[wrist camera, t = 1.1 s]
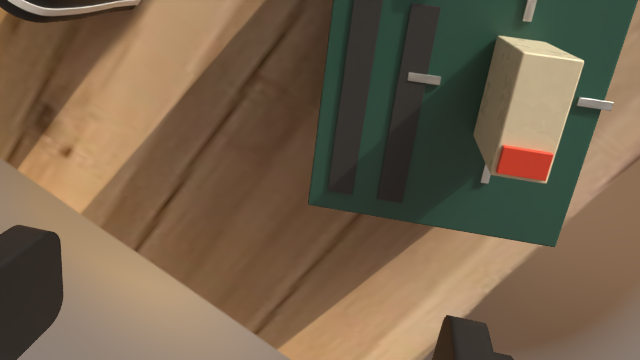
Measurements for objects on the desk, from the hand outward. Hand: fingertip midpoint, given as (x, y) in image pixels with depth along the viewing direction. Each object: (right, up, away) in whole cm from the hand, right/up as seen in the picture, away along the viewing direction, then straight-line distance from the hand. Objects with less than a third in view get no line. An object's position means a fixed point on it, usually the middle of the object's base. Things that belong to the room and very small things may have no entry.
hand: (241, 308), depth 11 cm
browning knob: (+10, +6, +12) cm, 17 cm away
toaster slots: (+4, +6, +13) cm, 15 cm away
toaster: (+9, +10, +23) cm, 26 cm away
